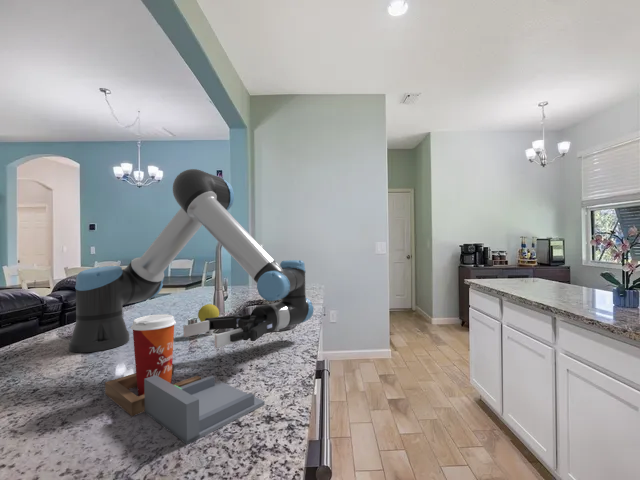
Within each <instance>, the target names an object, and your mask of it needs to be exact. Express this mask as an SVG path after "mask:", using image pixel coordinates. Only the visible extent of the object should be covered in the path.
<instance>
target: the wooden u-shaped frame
mask: <svg viewBox="0 0 640 480" xmlns="http://www.w3.org/2000/svg"><path fill="white" fill-rule="evenodd" d="M174 365H175V364H174V363H172V376H173V375H175V374H174V373H175V366H174ZM201 379H202V377H201V376H199V375H195V376H192V377H188V378H187V379H186V378H185V379H183V380H180V381H178V382H175V383H172V384H173V385H176V386H178V387H182V386H184V385H187V384H190V383H192V382H195V381H198V380H201ZM104 388H105V391H104V393H105V395H106V396H107V397H108V398H109V399H111V400H112V401H113V402H114V403H115V404H117V405H118V406H119V407H120V408H121V409H122V410H124V411H125V412H126V413H127V414H128V415H129V416H130V417H134V416H136V415H137V416H138V415H139V414H142V413H145V395H141V396H138V395H136V394H135V393H134V392H132V391H131V389H135V388H137V378H136V372H135V373H131V374H128V375H125V376H121V377H118V378H115V379H112V380H108V381H105V382H104Z"/></svg>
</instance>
